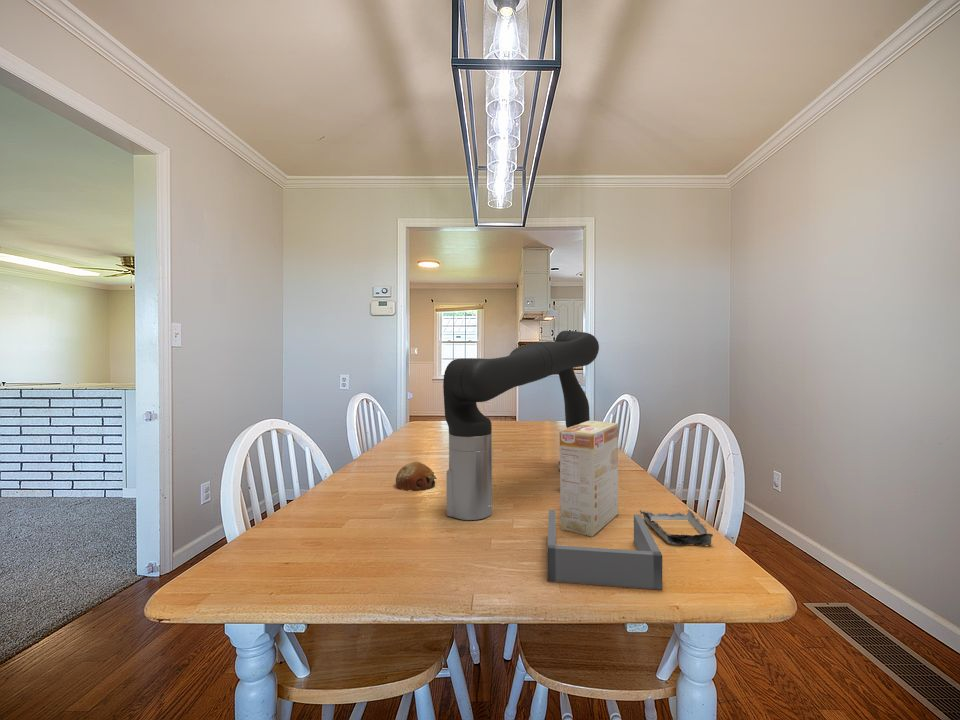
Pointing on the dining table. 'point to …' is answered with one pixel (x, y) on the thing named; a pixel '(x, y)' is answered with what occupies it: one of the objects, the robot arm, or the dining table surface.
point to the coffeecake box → (588, 476)
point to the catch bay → (606, 561)
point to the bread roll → (415, 477)
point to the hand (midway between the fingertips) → (586, 476)
